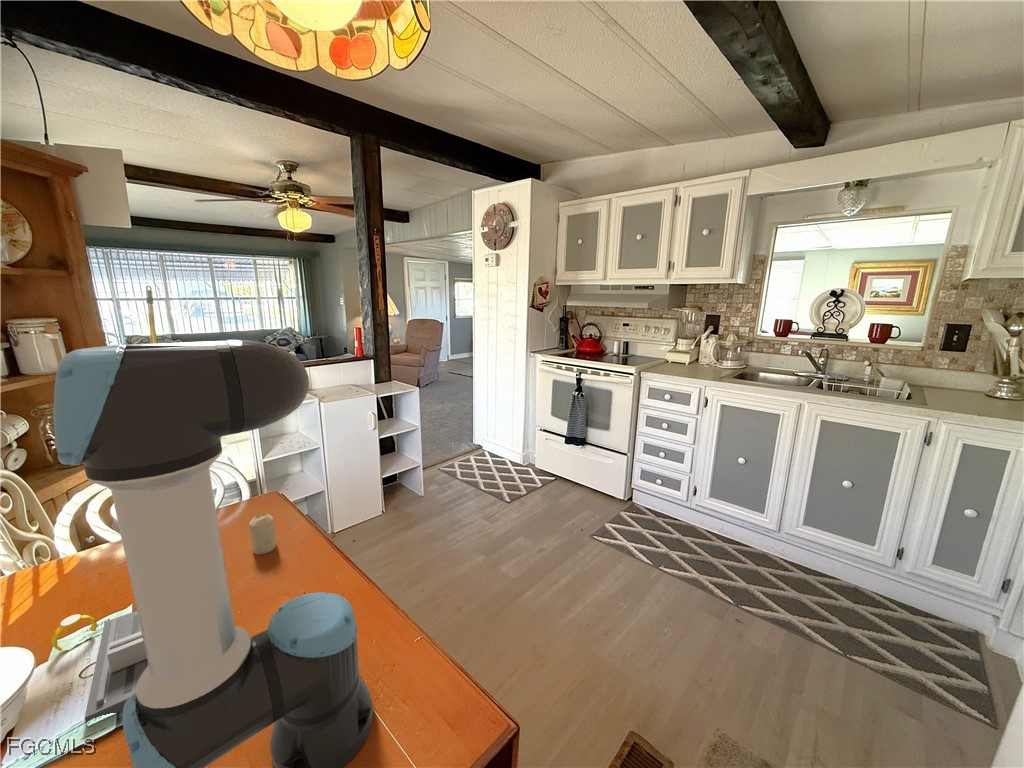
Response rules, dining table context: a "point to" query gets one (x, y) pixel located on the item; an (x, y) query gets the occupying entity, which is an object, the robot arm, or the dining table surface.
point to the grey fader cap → (126, 651)
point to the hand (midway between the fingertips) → (174, 534)
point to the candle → (262, 533)
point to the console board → (121, 684)
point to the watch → (71, 622)
